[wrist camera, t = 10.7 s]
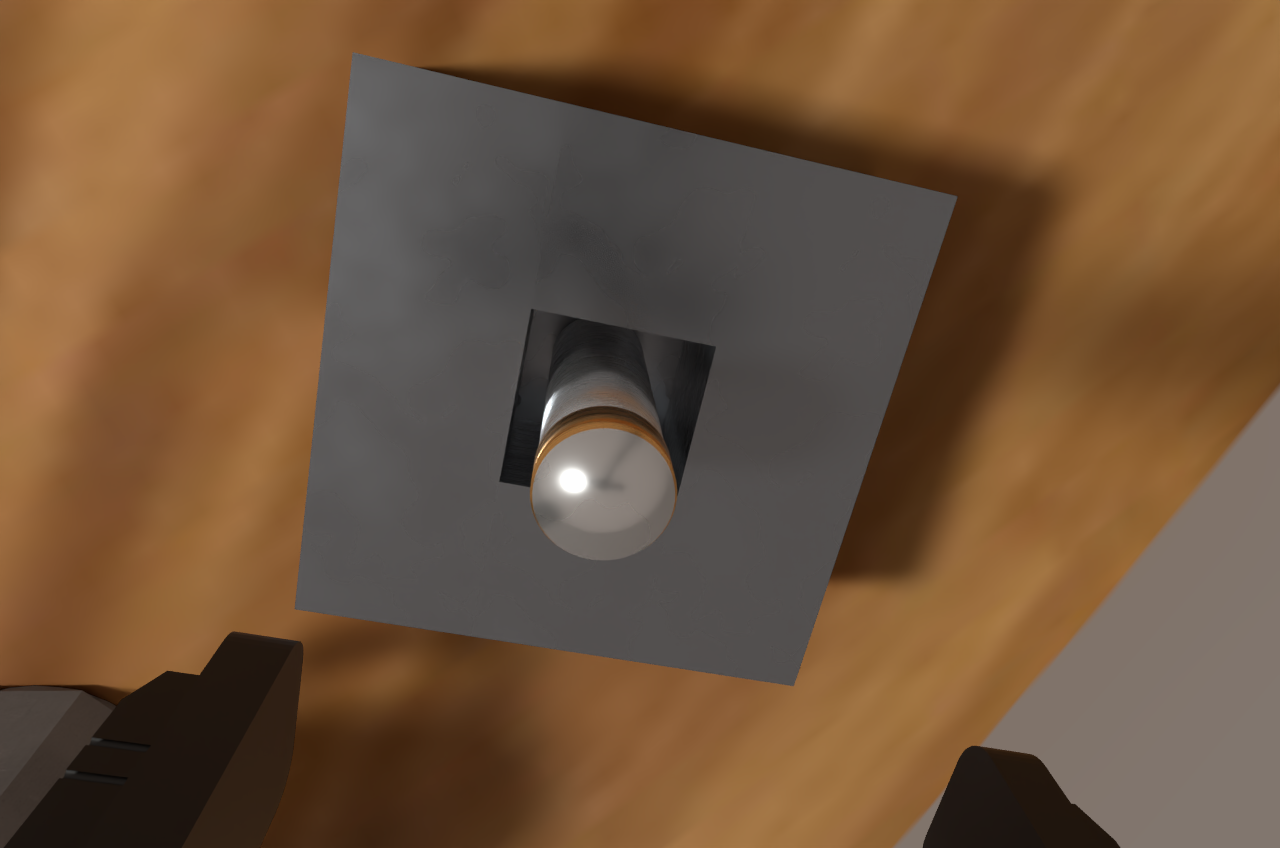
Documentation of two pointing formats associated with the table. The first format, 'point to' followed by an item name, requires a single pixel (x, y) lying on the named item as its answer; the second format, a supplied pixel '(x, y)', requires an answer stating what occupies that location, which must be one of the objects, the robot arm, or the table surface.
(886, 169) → the table surface
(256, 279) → the table surface
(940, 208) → the bore block
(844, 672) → the table surface
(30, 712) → the coffeepot
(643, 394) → the cylinder
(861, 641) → the table surface
